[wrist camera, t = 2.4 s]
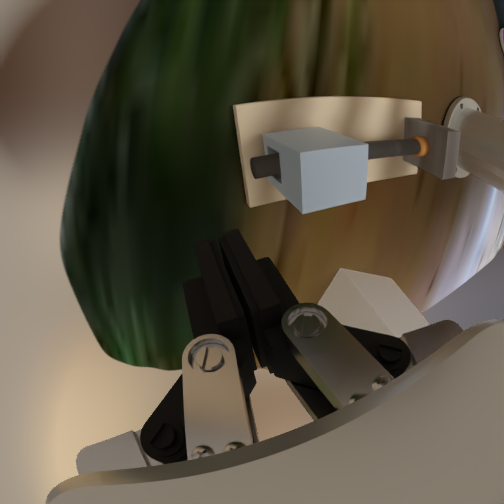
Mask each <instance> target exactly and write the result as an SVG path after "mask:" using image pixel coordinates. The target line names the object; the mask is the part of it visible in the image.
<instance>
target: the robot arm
mask: <svg viewBox="0 0 504 504" xmlns="http://www.w3.org/2000/svg"><path fill="white" fill-rule="evenodd" d="M443 126H445V127H448V128H451V129H454V130H456V131H459V132H460V141H459V150H458V158H457V165H456V172H455V177H457V178H464V177H466V176H468V175H469V174H472V175H474V176H476V177H478V178H479V179H481V180H483V181H485V182H487V183H488V184H490V185H492V186H493V187H495V188H497V189H498V190H500V191H502V192H503V193H504V120H501V119H499V118H496V117H494V116H491V115H488V114H486V113H483V112H481V110H480V107H479V106H478V104H477V103H476V102H475V101H474V100H473V99H471V98H468V97H464V96H463V97H459V98H457V99H456V100H455V101H454V102H453V103H452V104H451V106H450V107H449V109H448V112H447V114H446V117H445V120H444V124H443ZM193 243H194V247H195V251H196V254H197V258H198V262H199V265H200V269H201V272H202V276H201V277H198V278H195V279H191V280H188V281H184V282H183V288H184V293H185V298H186V303H187V308H188V313H189V318H190V323H191V327H192V332H193V336H194V340H192V341H191V342H190V343H189V344H188V345H187V346H186V348H185V350H184V352H183V357H182V371H183V373H182V375H181V376H180V377H179V379H178V380H177V381H176V383H175V384H174V385H173V387H172V388H171V389H170V391H169V392H168V393H167V395H166V396H165V398H164V399H163V400H162V401H161V403H160V404H159V405H158V407H157V408H156V410H155V411H154V412H153V413H152V415H151V416H150V417H149V419H148V420H147V422H146V423H145V424H144V426H143V428H142V429H141V430H139V431H136V432H134V431H129V432H126V433H124V434H121V435H119V436H116V437H113V438H110V439H108V440H105V441H102V442H99V443H96V444H93V445H90V446H87V447H85V448H83V449H82V450H81V451H80V452H79V453H78V455H77V460H76V464H77V470H78V473H79V475H78V476H75V477H72V478H70V479H67V480H65V481H63V482H61V483H60V484H58V485H57V486H56V487H54V488H53V489H52V490H51V492H50V493H49V494H48V496H47V499H46V504H504V319H495V320H489V321H484V322H481V323H478V324H476V325H474V326H472V327H470V328H468V329H466V330H465V331H463V329H462V328H461V327H460V326H459V324H457V323H456V322H454V321H451V320H443V321H440V322H437V323H434V324H431V325H428V326H425V327H422V328H419V329H416V330H413V331H410V332H407V333H404V334H402V336H401V337H399V338H397V337H394V336H391V335H387V334H382V333H377V332H373V331H368V330H363V329H359V328H355V327H350V326H346V325H342V324H341V323H340V322H339V321H338V320H337V319H336V318H335V317H334V316H333V315H332V314H331V313H330V312H329V311H328V310H326V309H325V308H324V307H322V306H320V305H317V304H314V303H300V304H299V302H298V300H297V299H296V297H295V296H294V294H293V293H292V291H291V290H290V288H289V287H288V285H287V284H286V282H285V281H284V279H283V277H282V276H281V274H280V273H279V271H278V270H277V268H276V267H275V265H274V264H273V262H272V261H271V259H270V258H269V257H265V258H262V259H258V260H256V259H255V258H254V256H253V254H252V253H251V251H250V249H249V247H248V246H247V244H246V242H245V240H244V239H243V237H242V235H241V234H240V232H239V230H238V229H236V230H232V231H229V232H225V233H223V237H222V238H219V244H220V248H221V253H222V257H223V260H222V258H221V255H220V253H219V250H218V248H217V245H216V243H215V240H211V241H209V240H208V238H204V239H200V240H197V241H193ZM223 261H224V263H223ZM252 347H253V349H254V352H255V354H256V356H257V359H258V361H259V363H260V366H261V367H262V368H263V367H266V366H267V368H268V370H269V372H270V374H271V373H274V375H275V376H276V377H279V378H282V379H285V380H286V383H287V385H288V386H289V387H290V389H291V390H292V392H293V393H294V394H295V396H296V397H297V398H298V400H299V401H300V402H301V404H302V405H303V407H304V408H305V409H306V411H307V412H308V413H309V415H310V416H311V417H312V419H313V420H314V422H311V423H309V424H306V425H304V426H302V427H299V428H297V429H294V430H292V431H289V432H286V433H284V434H281V435H278V436H275V437H273V438H270V439H267V440H264V441H261V442H259V438H258V433H257V428H256V423H255V418H254V414H253V409H252V404H251V398H250V393H251V392H252V390H253V388H254V386H255V384H256V379H255V375H254V370H257V366H256V362H255V358H254V353H253V349H252Z"/></svg>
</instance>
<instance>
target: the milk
mask: <svg viewBox="0 0 504 504" xmlns="http://www.w3.org/2000/svg"><path fill="white" fill-rule="evenodd" d="M317 305H320V306H322V307H324V308H325V309H326V310H328V311H329V312H330V313H331V314H332V315H333V316H334V317H335V318H336V319H337V320H338V321H339V322H340V323H341V324H342V325H346V326H350V327H355V328H359V329H363V330H368V331H373V332H377V333H382V334H387V335H391V336H394V337H397V338H399V337H401V336H402V334H404V333H407V332H410V331H413V330H416V329H419V328H422V327H425V326H428V325H429V323H428V322H427V321H426V319H425V318H424V317H423V316H422V314H421V313H420V312H419V311H418V309H417V308H416V307H415V306H414V305H413V303H412V302H411V301H410V300H409V298H408V297H407V296H406V295H405V294H404V292H403V291H402V290H401V289H400V288H399V287H398V285H397V284H396V283H395V282H394V281H393V280H392V278H388V277H383V276H378V275H373V274H369V273H364V272H359V271H354V270H349V269H344V268H340V269H339V270H338V272H337V274H336V275H335V277H334V278H333V280H332V282H331V283H330V285H329V287H328V288H327V290H326V291H325V293H324V294H323V296H322V298H321V299H320V301H319V302H318V304H317Z"/></svg>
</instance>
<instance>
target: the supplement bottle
mask: <svg viewBox="0 0 504 504" xmlns="http://www.w3.org/2000/svg"><path fill="white" fill-rule="evenodd" d="M499 37H500V43H501V47H502V50H503V52H504V28H502V29H501V30H500V33H499Z"/></svg>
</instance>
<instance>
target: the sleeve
mask: <svg viewBox="0 0 504 504" xmlns="http://www.w3.org/2000/svg"><path fill="white" fill-rule="evenodd" d="M263 142H264V151H265V155H268V154H274V153H279V157H280V168H281V174H279V175H274V176H269V177H267V179H268V181H269V182H270V183H271V184H272V185H273V186H274V187H275V188H276V189H277V190H278V191H279V192H280V193H281V194H282V195H283V196H284V197H286V198H287V199H288V200H289V201H290V202H291V203H292V204H293V205H294V206H295V207H296V208H297V209H298V210H299V211H300V212H301V213H302V214H306V213H310V212H314V211H318V210H322V209H326V208H331V207H335V206H339V205H343V204H347V203H352V202H356V201H360V200H365V199H366V188H367V171H368V145H369V144H367V143H364V142H361V141H359V140H356V139H353V138H351V137H348V136H345V135H342V134H339V133H337V132H334V131H331V130H328V129H325V128H322V127H312V128H302V129H294V130H286V131H279V132H272V133H265V134H263Z"/></svg>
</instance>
